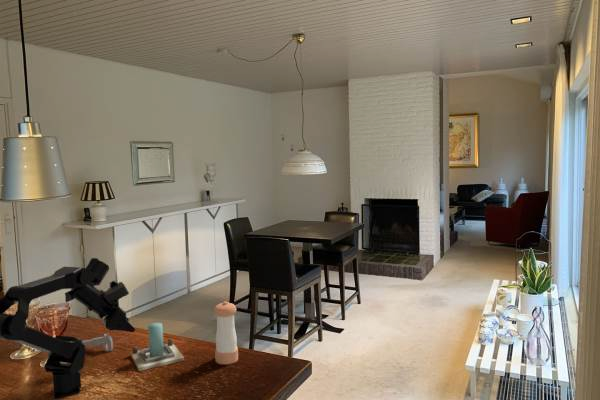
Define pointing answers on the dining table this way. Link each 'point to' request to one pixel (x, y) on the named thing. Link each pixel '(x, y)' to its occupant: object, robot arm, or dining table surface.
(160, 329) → the pin
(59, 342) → the robot arm
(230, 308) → the salt shaker
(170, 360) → the board
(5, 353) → the dining table surface
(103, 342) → the caliper
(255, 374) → the dining table surface
